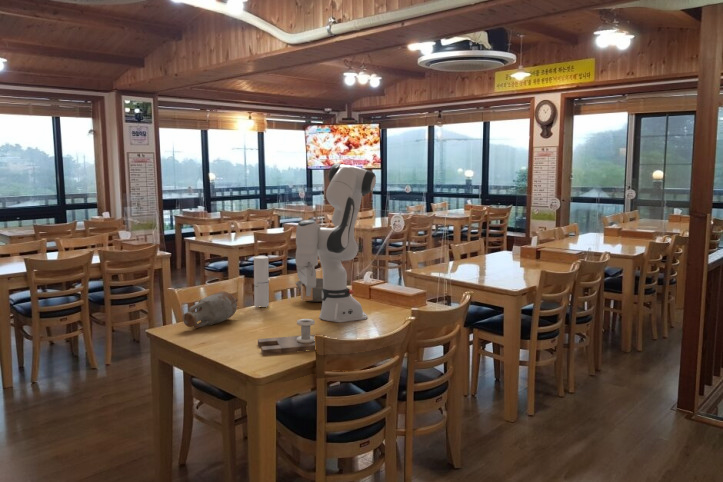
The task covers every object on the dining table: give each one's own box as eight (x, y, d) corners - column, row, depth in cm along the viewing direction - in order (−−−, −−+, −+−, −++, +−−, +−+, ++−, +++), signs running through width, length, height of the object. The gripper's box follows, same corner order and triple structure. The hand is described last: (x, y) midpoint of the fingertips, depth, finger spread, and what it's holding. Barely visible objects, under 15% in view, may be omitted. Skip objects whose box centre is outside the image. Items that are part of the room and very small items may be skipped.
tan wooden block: (310, 298, 237) (310, 283, 236) (312, 300, 233) (312, 285, 232) (300, 298, 236) (300, 284, 235) (302, 300, 232) (302, 286, 231)
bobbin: (312, 337, 234) (312, 318, 233) (316, 342, 227) (316, 322, 226) (295, 338, 231) (295, 319, 230) (298, 344, 225) (298, 324, 224)
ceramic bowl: (343, 297, 314) (343, 279, 312) (331, 307, 292) (331, 287, 290) (304, 294, 319) (304, 276, 317) (289, 304, 296) (289, 285, 295)
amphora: (248, 290, 269) (197, 289, 244) (248, 325, 267) (197, 328, 242) (227, 292, 276) (175, 291, 251) (227, 326, 274) (175, 328, 249)
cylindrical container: (265, 308, 287) (265, 258, 284) (252, 307, 289) (251, 258, 285) (270, 305, 294) (270, 256, 291) (257, 304, 295) (257, 255, 292)
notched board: (316, 339, 238) (316, 334, 238) (324, 349, 225) (324, 344, 224) (257, 343, 231) (257, 339, 230) (262, 354, 217) (262, 349, 217)
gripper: (320, 264, 223) (320, 299, 225) (309, 256, 243) (309, 288, 245) (304, 265, 222) (304, 300, 223) (294, 257, 241) (294, 289, 243)
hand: (306, 294), depth 234 cm, fingers closed on tan wooden block, 4 cm apart
